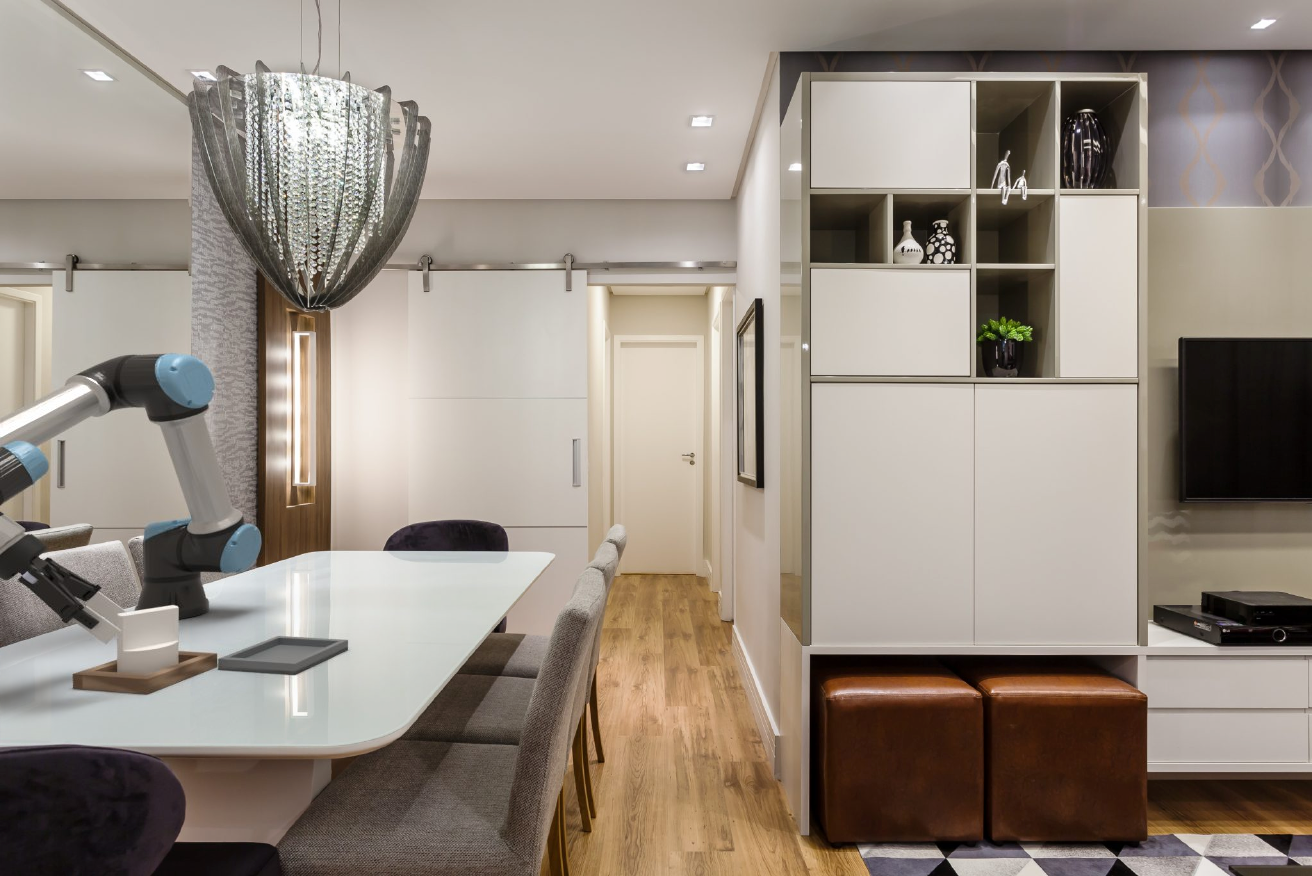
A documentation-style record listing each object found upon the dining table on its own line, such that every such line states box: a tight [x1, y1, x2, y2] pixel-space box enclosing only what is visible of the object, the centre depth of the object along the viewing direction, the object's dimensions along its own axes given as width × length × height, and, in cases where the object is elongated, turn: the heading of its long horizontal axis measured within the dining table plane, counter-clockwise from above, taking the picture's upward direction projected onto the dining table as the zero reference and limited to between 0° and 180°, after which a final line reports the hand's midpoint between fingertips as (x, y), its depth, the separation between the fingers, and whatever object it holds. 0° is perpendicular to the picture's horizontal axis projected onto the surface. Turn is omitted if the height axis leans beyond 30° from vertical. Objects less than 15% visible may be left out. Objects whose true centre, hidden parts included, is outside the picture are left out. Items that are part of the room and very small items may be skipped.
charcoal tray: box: [217, 635, 349, 676], centre depth 141 cm, size 16×16×2 cm
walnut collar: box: [72, 650, 218, 695], centre depth 130 cm, size 15×15×2 cm
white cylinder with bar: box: [116, 605, 180, 675], centre depth 130 cm, size 9×9×12 cm
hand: (118, 628), depth 127 cm, fingers open, 13 cm apart
